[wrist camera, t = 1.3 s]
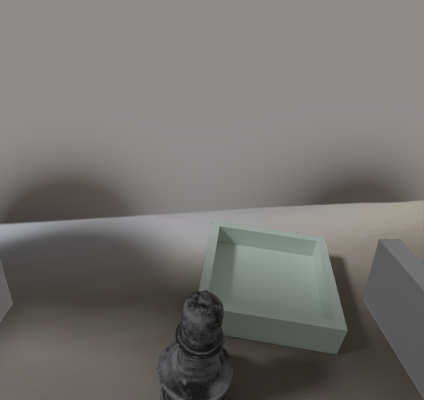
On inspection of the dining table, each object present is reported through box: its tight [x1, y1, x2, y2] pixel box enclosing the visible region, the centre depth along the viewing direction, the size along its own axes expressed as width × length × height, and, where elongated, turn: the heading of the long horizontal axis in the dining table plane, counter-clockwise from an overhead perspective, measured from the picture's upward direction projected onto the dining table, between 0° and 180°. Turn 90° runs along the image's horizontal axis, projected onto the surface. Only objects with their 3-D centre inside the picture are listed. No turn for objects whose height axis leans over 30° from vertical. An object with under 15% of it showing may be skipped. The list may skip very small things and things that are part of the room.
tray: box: [198, 220, 348, 355], centre depth 39 cm, size 14×14×4 cm
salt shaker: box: [158, 290, 233, 400], centre depth 26 cm, size 6×6×12 cm
